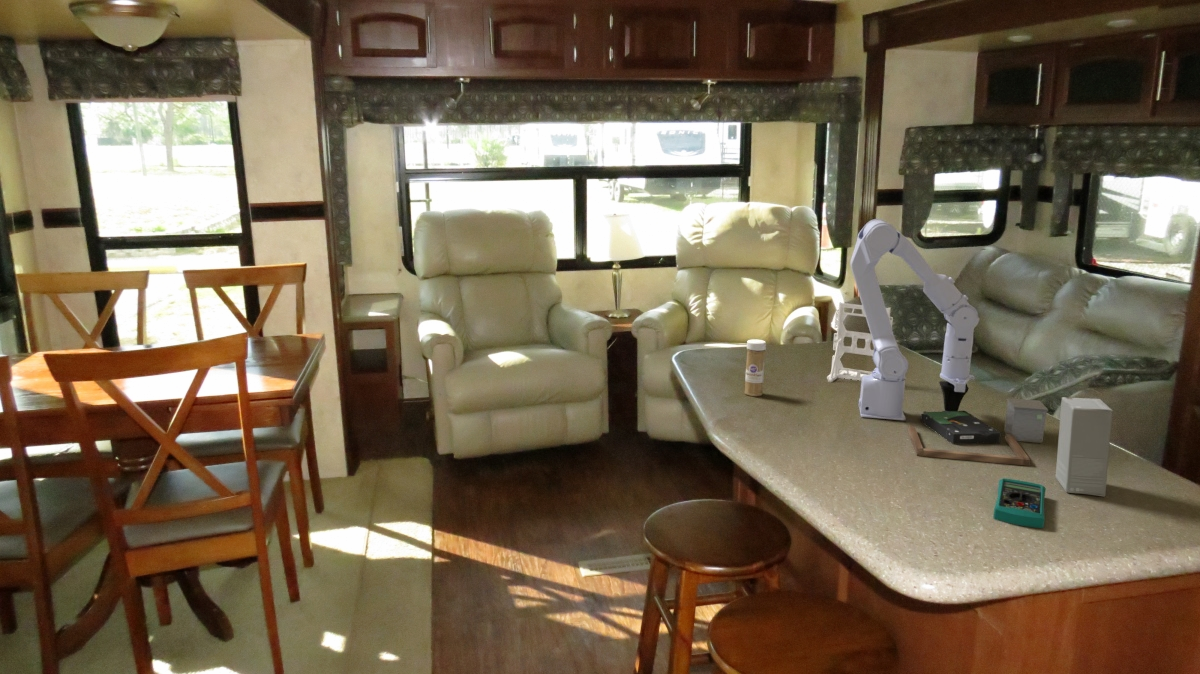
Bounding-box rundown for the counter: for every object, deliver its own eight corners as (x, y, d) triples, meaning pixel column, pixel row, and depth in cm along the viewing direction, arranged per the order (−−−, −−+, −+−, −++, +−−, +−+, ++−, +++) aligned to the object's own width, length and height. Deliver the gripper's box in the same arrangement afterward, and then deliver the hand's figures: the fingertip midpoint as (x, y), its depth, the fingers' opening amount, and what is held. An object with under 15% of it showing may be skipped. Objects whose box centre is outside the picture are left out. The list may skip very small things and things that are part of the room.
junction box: (1009, 440, 171) (1014, 407, 169) (1002, 430, 177) (1006, 398, 175) (1043, 443, 169) (1048, 409, 168) (1035, 433, 176) (1039, 400, 174)
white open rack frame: (893, 378, 217) (900, 303, 213) (880, 390, 206) (887, 312, 201) (839, 369, 225) (845, 297, 220) (823, 381, 213) (829, 305, 209)
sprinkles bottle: (744, 396, 200) (747, 342, 197) (744, 391, 204) (746, 338, 201) (763, 397, 199) (766, 343, 196) (762, 391, 203) (765, 339, 200)
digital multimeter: (992, 523, 134) (994, 506, 133) (997, 490, 147) (1000, 475, 146) (1042, 533, 131) (1045, 516, 130) (1044, 499, 143) (1046, 483, 143)
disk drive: (1000, 445, 169) (963, 421, 184) (1002, 432, 169) (964, 409, 183) (952, 446, 168) (918, 422, 183) (954, 433, 168) (920, 410, 182)
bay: (916, 455, 162) (917, 449, 162) (907, 430, 176) (908, 425, 176) (1029, 465, 157) (1030, 460, 157) (1011, 439, 171) (1011, 434, 171)
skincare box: (1105, 498, 143) (1119, 411, 139) (1060, 493, 145) (1072, 407, 141) (1092, 480, 151) (1105, 397, 147) (1049, 475, 153) (1061, 393, 149)
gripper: (983, 365, 174) (976, 426, 177) (970, 349, 187) (963, 406, 190) (947, 362, 175) (941, 423, 178) (937, 347, 189) (931, 403, 192)
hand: (950, 414), depth 184 cm, fingers closed
